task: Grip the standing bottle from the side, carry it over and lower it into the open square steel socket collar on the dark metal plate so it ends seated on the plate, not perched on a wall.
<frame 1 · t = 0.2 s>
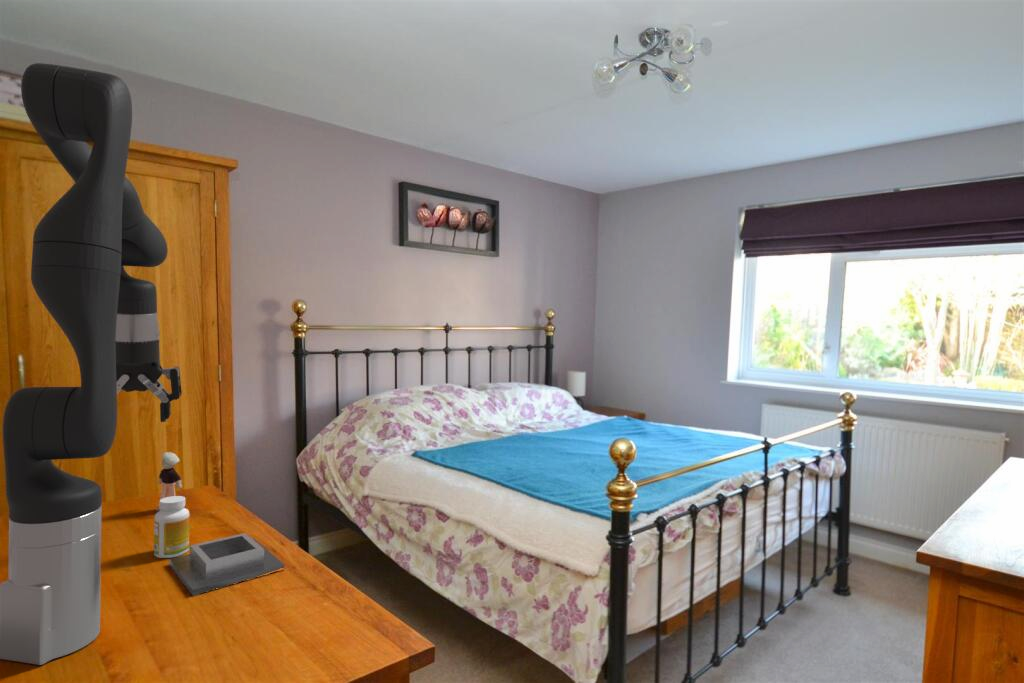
hand: (137, 421, 105), 22 cm above the table, tool pointing down, fingers open, 8 cm apart
grandmother figurine: (168, 511, 120), on the table
socket plate: (226, 567, 95), on the table
supplement bottle: (171, 553, 100), on the table
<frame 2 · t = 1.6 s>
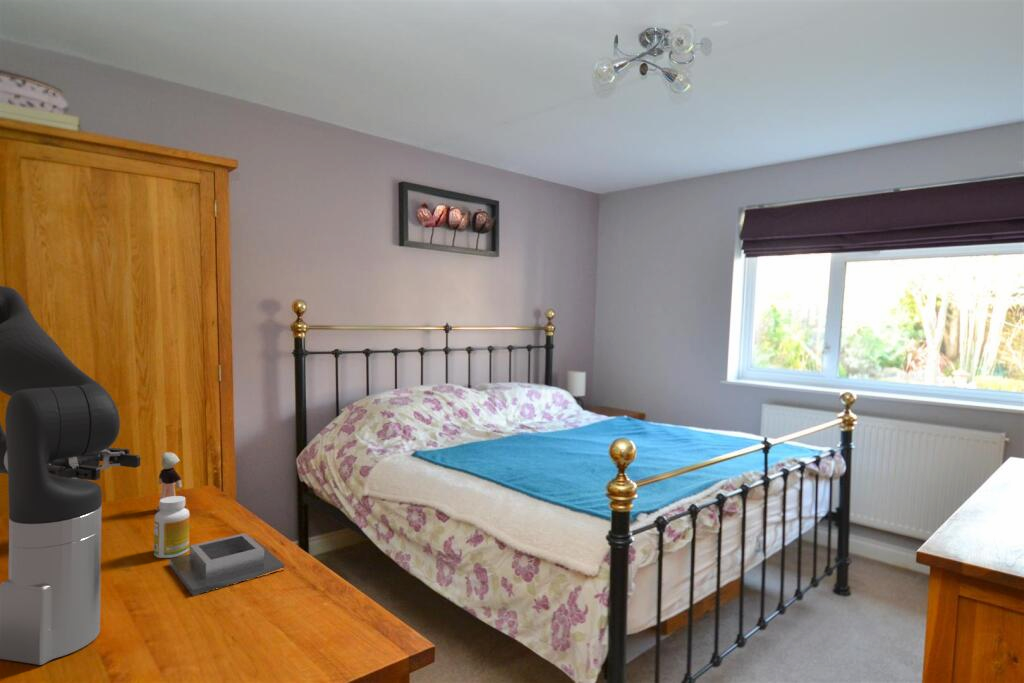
hand: (119, 467, 101), 14 cm above the table, tool horizontal, fingers open, 8 cm apart
nothing on the table moved.
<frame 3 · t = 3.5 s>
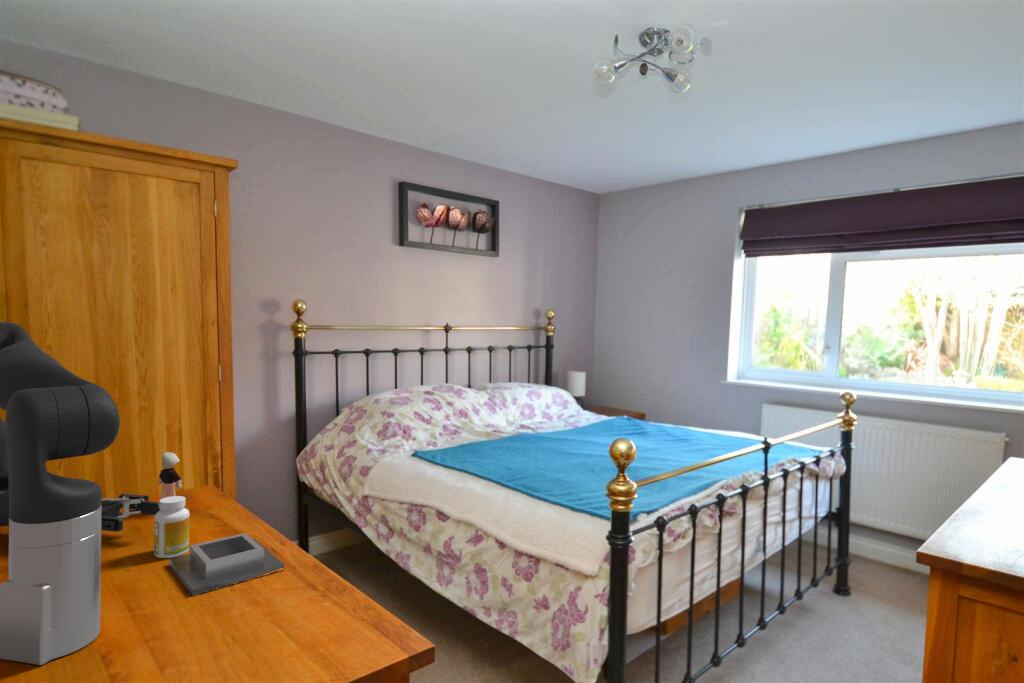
hand: (141, 516, 100), 6 cm above the table, tool horizontal, fingers open, 8 cm apart
nothing on the table moved.
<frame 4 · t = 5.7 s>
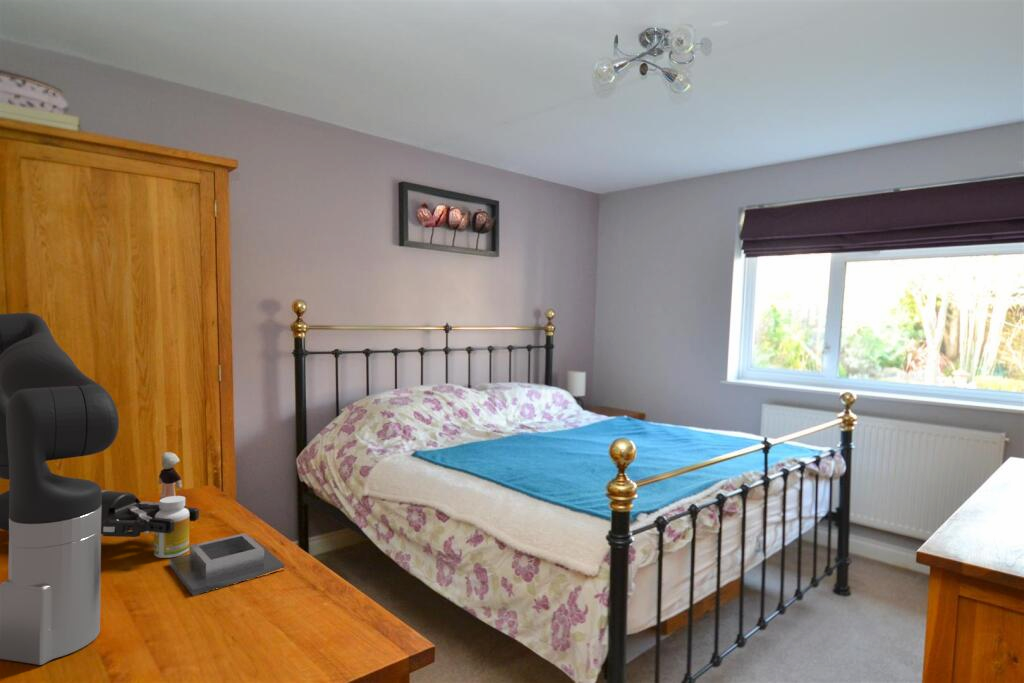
hand: (185, 520, 99), 6 cm above the table, tool horizontal, fingers closed on supplement bottle, 5 cm apart
supplement bottle: (171, 553, 100), on the table, touching gripper
everything else where it was.
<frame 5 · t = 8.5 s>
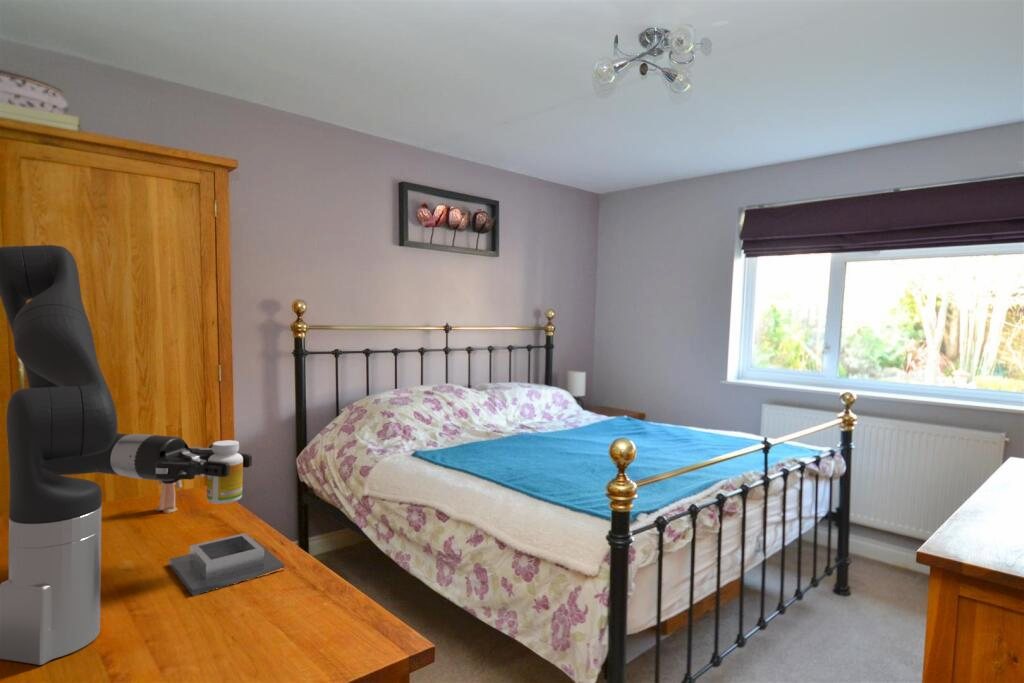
hand: (239, 465, 94), 18 cm above the table, tool horizontal, fingers closed on supplement bottle, 5 cm apart
supplement bottle: (224, 500, 95), point 11 cm above the table, touching gripper
everything else where it was.
when the fingers open (9 cm above the table, at t = 11.4 s): supplement bottle drops 1 cm, resting on socket plate.
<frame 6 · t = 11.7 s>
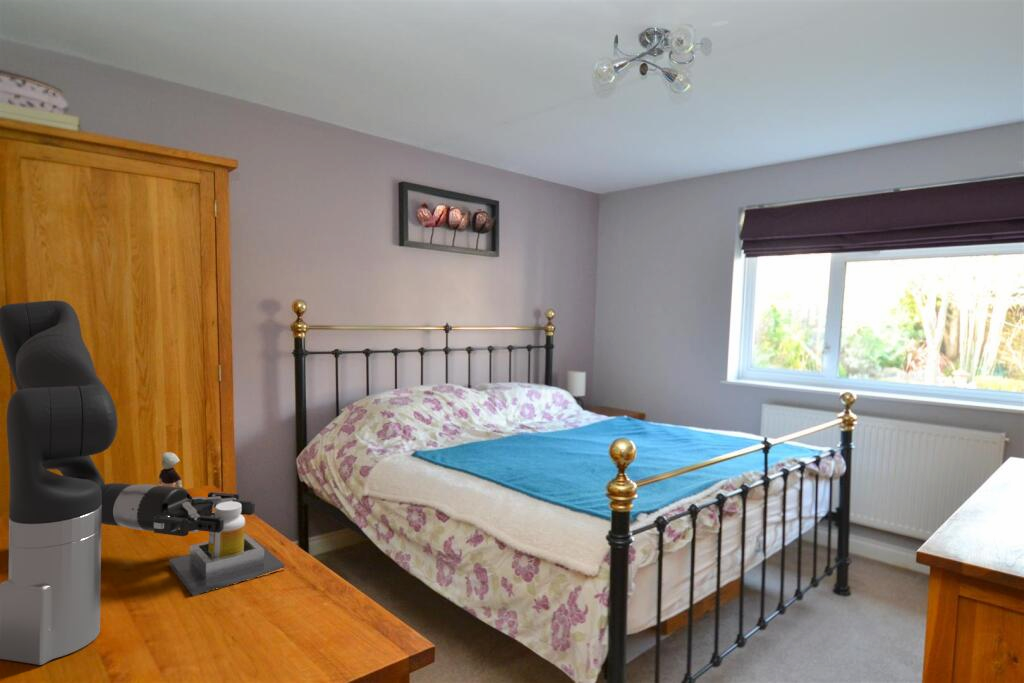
hand: (238, 516, 94), 9 cm above the table, tool horizontal, fingers open, 8 cm apart
supplement bottle: (225, 561, 95), point 1 cm above the table, touching socket plate
everything else where it was.
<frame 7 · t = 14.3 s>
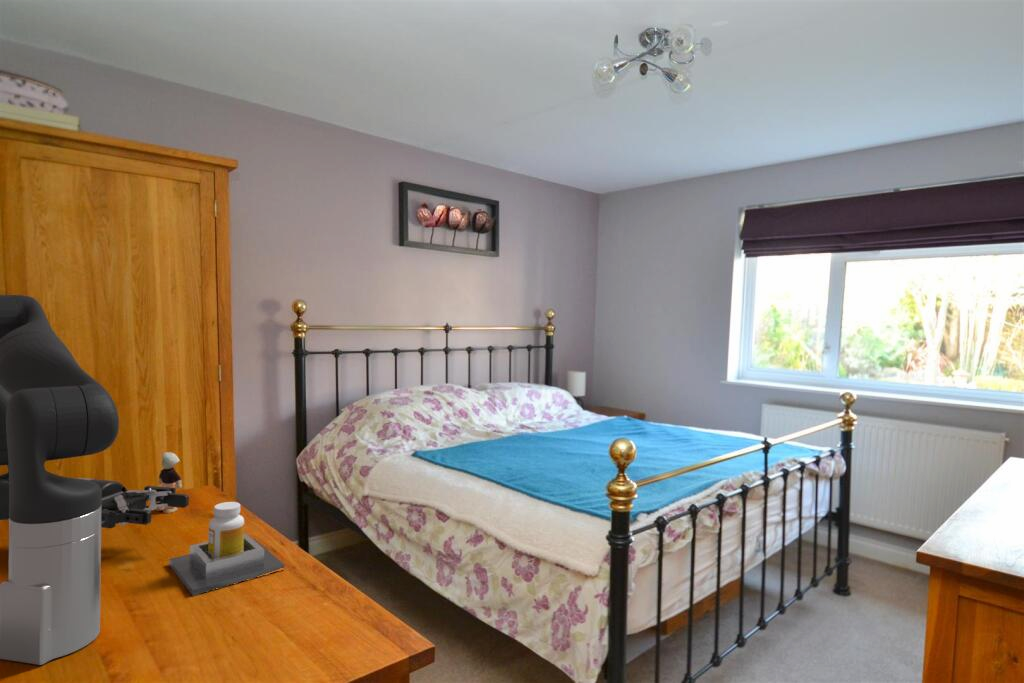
hand: (169, 509, 96), 9 cm above the table, tool horizontal, fingers open, 8 cm apart
nothing on the table moved.
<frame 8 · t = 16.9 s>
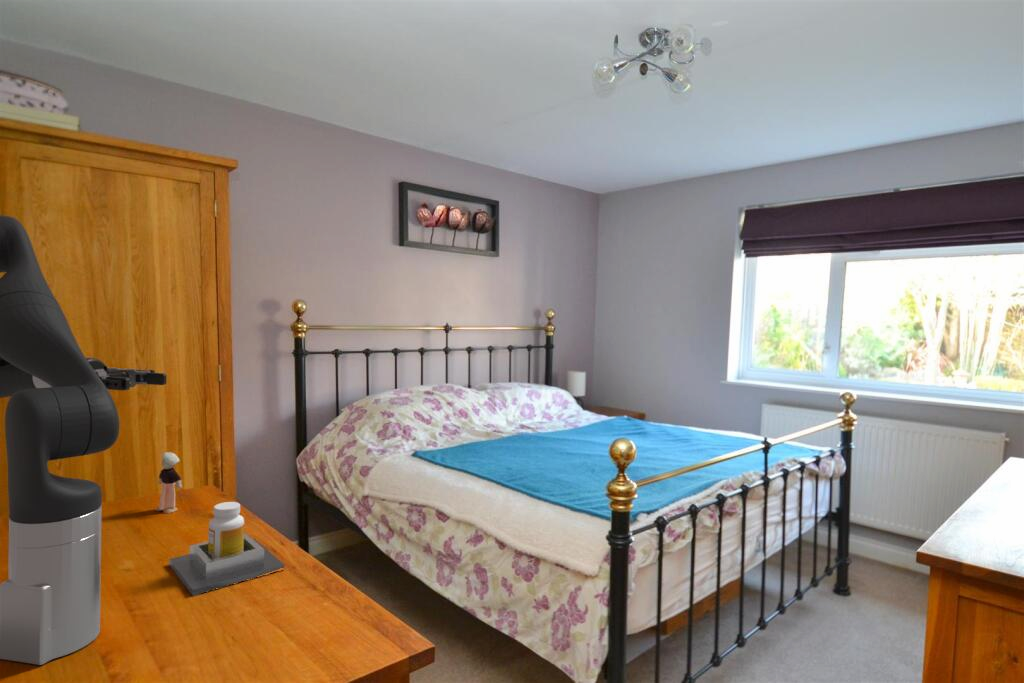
hand: (147, 381, 103), 30 cm above the table, tool horizontal, fingers open, 8 cm apart
nothing on the table moved.
at the end: supplement bottle 0.2 cm from the socket plate (horizontally); supplement bottle point 0.8 cm above the table; supplement bottle tilted 1° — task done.
